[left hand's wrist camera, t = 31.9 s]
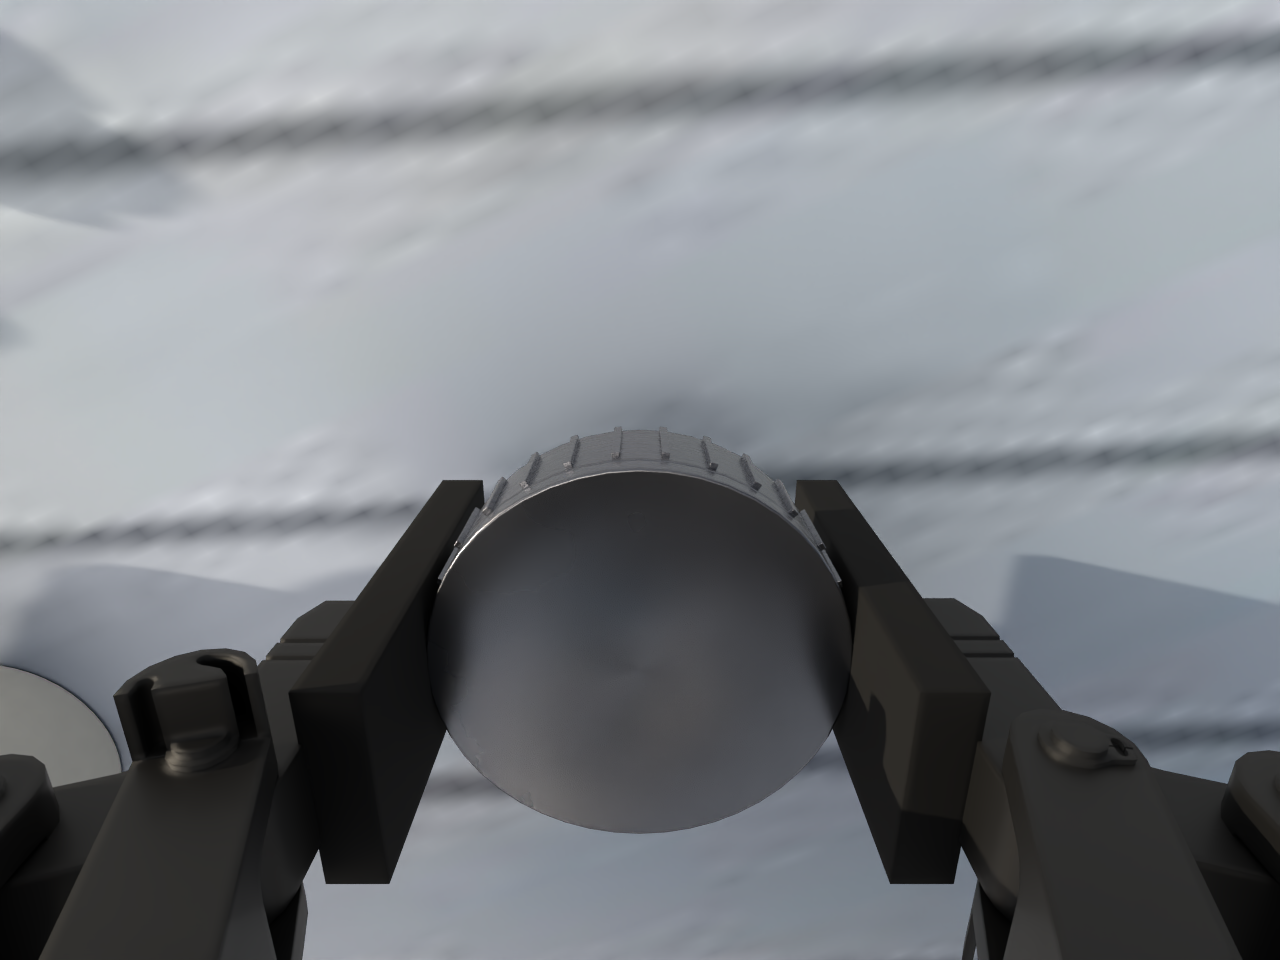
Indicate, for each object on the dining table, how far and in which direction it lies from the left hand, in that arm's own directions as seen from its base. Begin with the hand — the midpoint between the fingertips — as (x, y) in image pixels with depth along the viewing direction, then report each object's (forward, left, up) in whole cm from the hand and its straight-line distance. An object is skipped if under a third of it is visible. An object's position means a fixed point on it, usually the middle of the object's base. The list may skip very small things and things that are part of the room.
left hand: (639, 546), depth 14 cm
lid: (0, 0, +4) cm, 4 cm away
